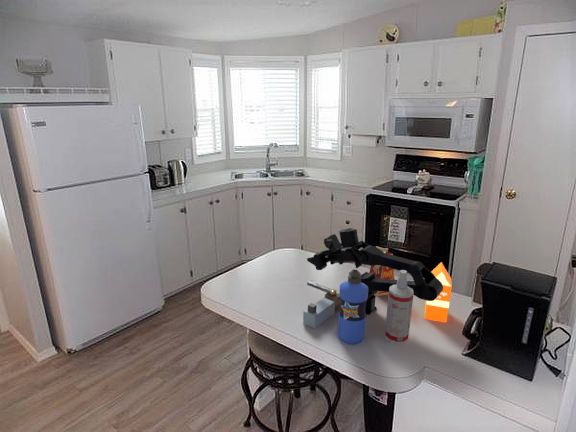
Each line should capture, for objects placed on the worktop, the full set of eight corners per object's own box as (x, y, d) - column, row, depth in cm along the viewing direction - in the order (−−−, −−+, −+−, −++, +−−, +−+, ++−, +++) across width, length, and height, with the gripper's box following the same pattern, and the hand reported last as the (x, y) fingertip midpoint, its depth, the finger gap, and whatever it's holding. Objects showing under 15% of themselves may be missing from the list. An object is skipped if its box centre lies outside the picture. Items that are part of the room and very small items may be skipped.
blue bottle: (360, 348, 123) (365, 279, 116) (333, 340, 127) (336, 273, 119) (367, 332, 131) (372, 267, 124) (341, 326, 135) (345, 262, 127)
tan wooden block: (340, 308, 146) (341, 294, 144) (335, 312, 143) (335, 298, 141) (330, 304, 149) (330, 290, 147) (324, 308, 146) (324, 294, 145)
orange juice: (445, 310, 145) (452, 263, 139) (446, 322, 137) (454, 273, 131) (424, 306, 148) (430, 260, 142) (424, 318, 140) (430, 269, 134)
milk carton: (395, 292, 158) (400, 248, 152) (377, 296, 155) (381, 252, 149) (382, 283, 166) (386, 241, 160) (365, 286, 163) (368, 244, 157)
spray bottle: (402, 329, 133) (409, 265, 125) (412, 342, 126) (420, 275, 118) (381, 331, 132) (387, 266, 124) (389, 344, 125) (396, 277, 117)
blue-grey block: (334, 313, 143) (335, 295, 141) (314, 328, 134) (314, 309, 131) (323, 308, 146) (324, 291, 144) (303, 323, 137) (303, 304, 134)
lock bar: (337, 294, 145) (337, 290, 144) (334, 296, 143) (334, 292, 142) (310, 283, 153) (310, 280, 152) (306, 285, 151) (306, 282, 150)
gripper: (353, 229, 152) (322, 232, 163) (328, 241, 138) (296, 243, 149) (358, 256, 153) (327, 257, 164) (333, 270, 139) (301, 270, 150)
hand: (313, 256), depth 156 cm, fingers open, 9 cm apart
